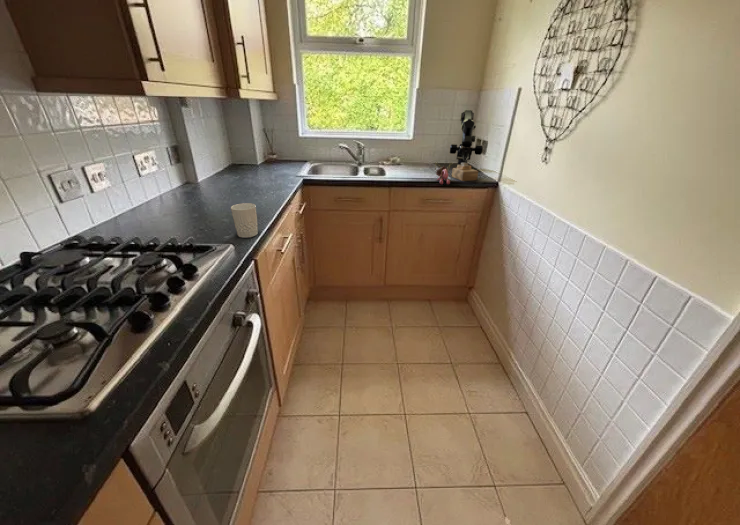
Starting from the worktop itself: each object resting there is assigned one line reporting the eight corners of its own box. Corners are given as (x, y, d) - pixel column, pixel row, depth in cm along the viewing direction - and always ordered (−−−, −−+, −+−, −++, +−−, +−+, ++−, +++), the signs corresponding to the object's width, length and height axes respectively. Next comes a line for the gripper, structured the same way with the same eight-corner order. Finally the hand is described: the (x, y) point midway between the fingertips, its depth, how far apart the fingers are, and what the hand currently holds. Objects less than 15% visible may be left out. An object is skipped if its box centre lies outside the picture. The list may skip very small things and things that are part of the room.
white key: (460, 165, 198) (461, 162, 197) (465, 165, 199) (465, 162, 198) (463, 166, 196) (463, 163, 195) (467, 166, 196) (468, 163, 196)
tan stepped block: (451, 176, 201) (452, 165, 198) (465, 175, 204) (467, 164, 201) (462, 181, 191) (463, 168, 188) (477, 180, 194) (478, 167, 191)
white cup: (243, 240, 110) (238, 211, 105) (231, 234, 114) (226, 206, 110) (264, 234, 115) (260, 206, 111) (252, 228, 120) (247, 201, 115)
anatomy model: (437, 180, 178) (436, 155, 182) (433, 192, 191) (432, 169, 195) (456, 180, 178) (455, 155, 182) (450, 192, 191) (449, 169, 195)
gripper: (452, 129, 195) (450, 152, 190) (485, 130, 191) (483, 153, 187) (450, 142, 205) (448, 163, 201) (481, 143, 202) (480, 165, 197)
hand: (464, 161), depth 196 cm, fingers closed
